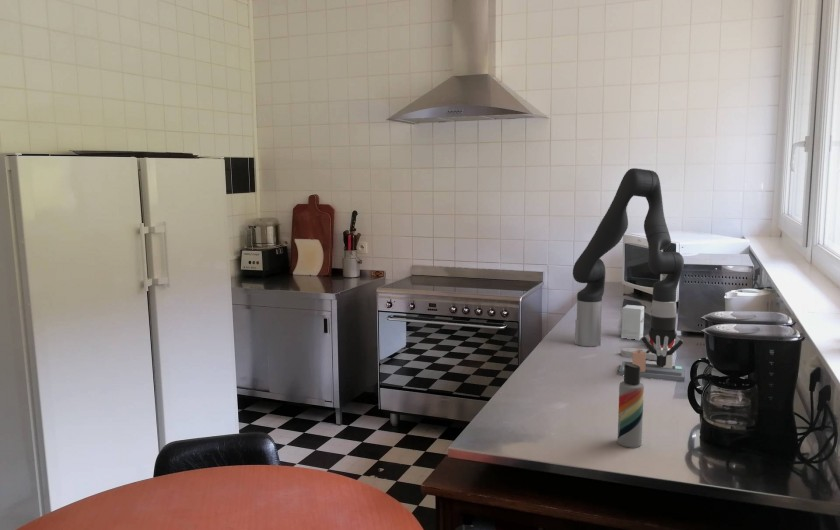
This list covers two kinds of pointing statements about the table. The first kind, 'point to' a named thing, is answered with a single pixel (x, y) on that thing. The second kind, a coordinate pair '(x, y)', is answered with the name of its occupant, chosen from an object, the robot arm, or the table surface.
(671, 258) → the robot arm
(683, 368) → the switch panel
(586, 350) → the table surface
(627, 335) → the supplement box
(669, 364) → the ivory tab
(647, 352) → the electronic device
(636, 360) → the terracotta tab
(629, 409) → the lotion bottle
